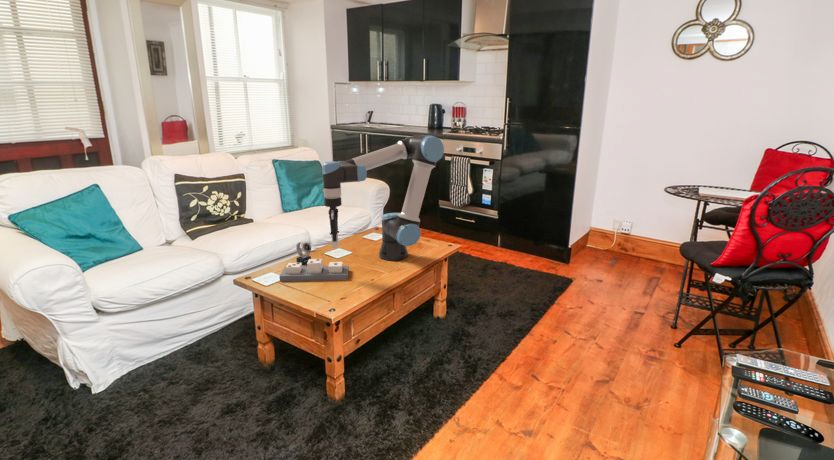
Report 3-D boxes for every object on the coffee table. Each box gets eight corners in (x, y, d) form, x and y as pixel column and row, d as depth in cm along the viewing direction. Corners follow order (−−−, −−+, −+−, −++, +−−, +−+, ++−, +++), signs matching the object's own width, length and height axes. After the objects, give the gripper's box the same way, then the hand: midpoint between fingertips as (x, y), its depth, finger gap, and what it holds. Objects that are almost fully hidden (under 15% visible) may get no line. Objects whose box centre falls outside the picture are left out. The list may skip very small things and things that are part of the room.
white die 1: (302, 272, 212) (301, 262, 210) (300, 277, 206) (299, 266, 204) (289, 272, 211) (288, 262, 210) (286, 277, 205) (285, 266, 204)
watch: (305, 266, 222) (304, 244, 219) (294, 262, 226) (292, 241, 223) (314, 262, 226) (312, 241, 223) (302, 259, 230) (301, 239, 227)
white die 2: (343, 271, 213) (342, 261, 212) (342, 276, 207) (341, 265, 206) (330, 272, 213) (329, 261, 211) (328, 276, 207) (328, 266, 205)
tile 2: (322, 268, 212) (322, 258, 210) (320, 273, 206) (320, 262, 205) (309, 269, 211) (309, 258, 210) (307, 273, 206) (307, 263, 204)
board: (348, 270, 216) (348, 265, 216) (347, 279, 205) (346, 274, 204) (285, 271, 214) (284, 266, 213) (279, 281, 202) (279, 276, 202)
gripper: (325, 194, 206) (328, 243, 212) (322, 200, 193) (325, 252, 200) (342, 193, 207) (344, 242, 213) (339, 199, 194) (342, 251, 201)
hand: (335, 247), depth 206 cm, fingers closed
